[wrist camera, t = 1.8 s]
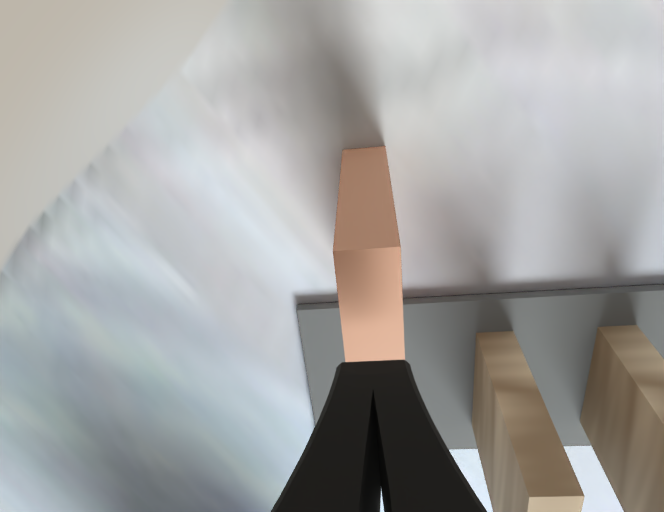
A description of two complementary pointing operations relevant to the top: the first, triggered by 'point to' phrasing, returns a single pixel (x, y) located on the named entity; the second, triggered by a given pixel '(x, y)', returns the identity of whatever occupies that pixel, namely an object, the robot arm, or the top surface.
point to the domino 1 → (368, 259)
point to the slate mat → (493, 316)
